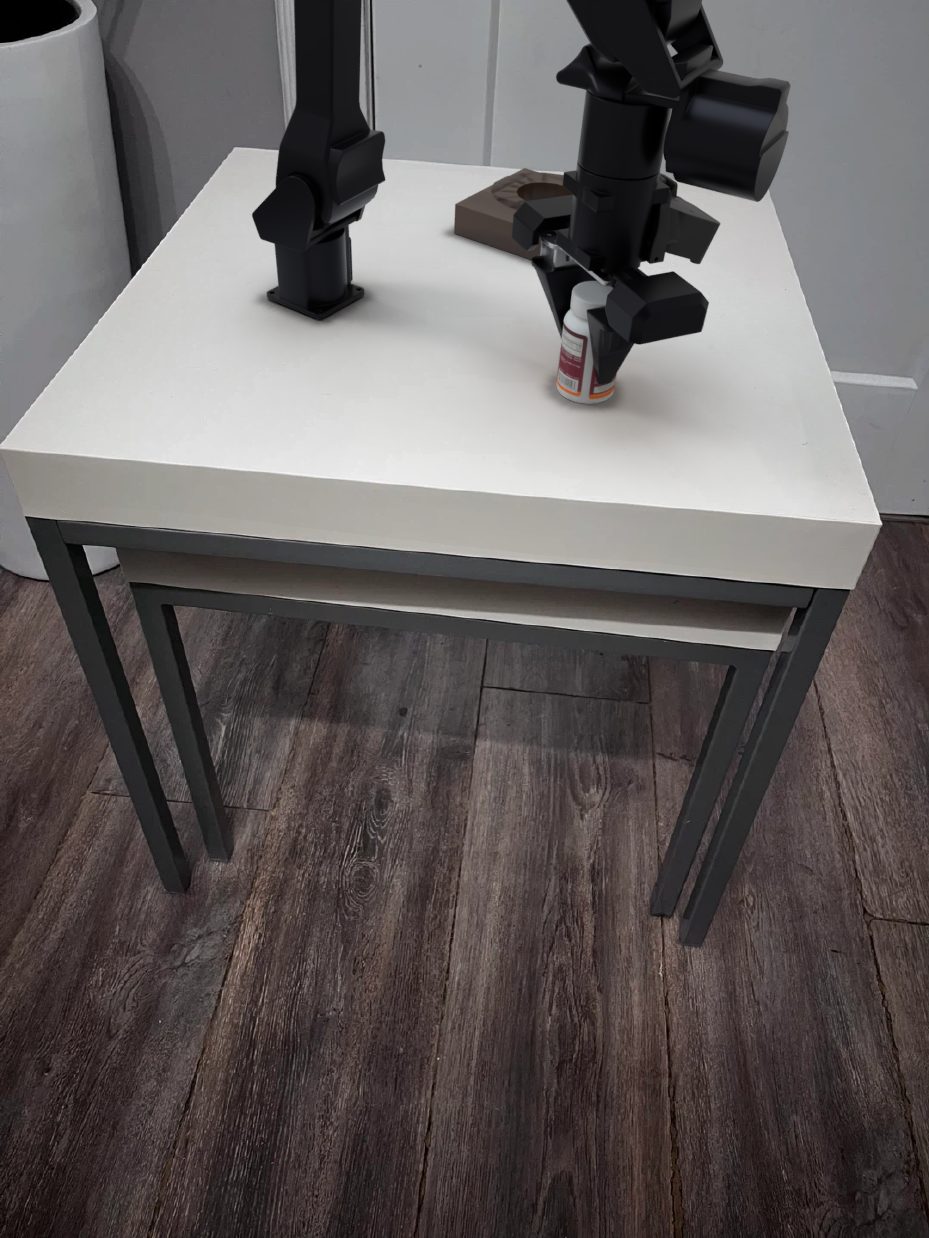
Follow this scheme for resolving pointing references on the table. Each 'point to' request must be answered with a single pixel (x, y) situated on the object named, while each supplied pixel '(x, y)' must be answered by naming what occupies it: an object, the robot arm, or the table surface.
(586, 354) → the pill bottle
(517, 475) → the table surface
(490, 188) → the brown block with hole
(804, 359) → the table surface
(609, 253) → the robot arm
